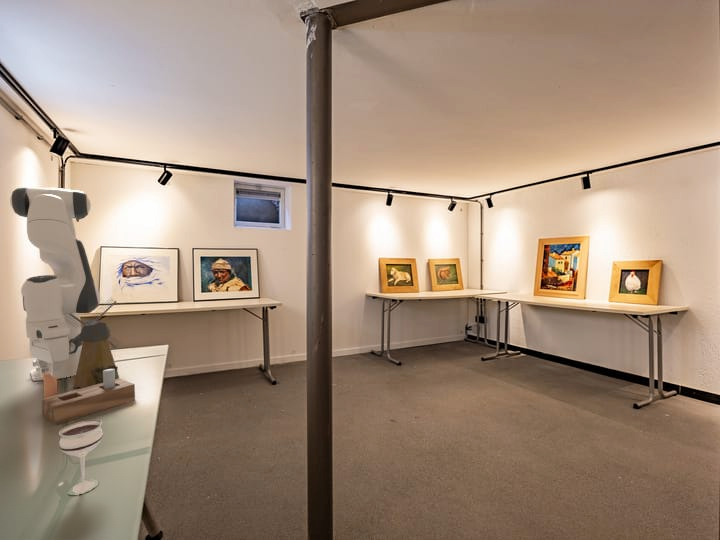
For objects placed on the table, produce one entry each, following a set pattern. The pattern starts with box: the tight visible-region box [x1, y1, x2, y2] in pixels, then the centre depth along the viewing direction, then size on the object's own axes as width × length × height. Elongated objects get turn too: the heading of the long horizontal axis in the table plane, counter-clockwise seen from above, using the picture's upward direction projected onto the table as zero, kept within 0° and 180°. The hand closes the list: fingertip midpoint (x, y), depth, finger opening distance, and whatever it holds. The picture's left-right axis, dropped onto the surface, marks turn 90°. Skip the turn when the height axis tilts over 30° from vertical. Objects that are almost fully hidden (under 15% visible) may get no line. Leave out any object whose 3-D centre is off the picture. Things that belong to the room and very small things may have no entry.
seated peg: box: [103, 369, 115, 390], centre depth 111 cm, size 3×3×10 cm
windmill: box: [65, 297, 122, 389], centre depth 129 cm, size 21×14×30 cm, turn 148°
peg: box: [43, 372, 58, 399], centre depth 108 cm, size 3×3×10 cm
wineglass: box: [58, 419, 104, 493], centre depth 69 cm, size 7×7×12 cm
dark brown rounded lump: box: [91, 364, 118, 385], centre depth 120 cm, size 8×7×8 cm
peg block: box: [41, 377, 136, 426], centre depth 107 cm, size 10×20×5 cm, turn 147°
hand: (50, 374), depth 108 cm, fingers open, 8 cm apart
